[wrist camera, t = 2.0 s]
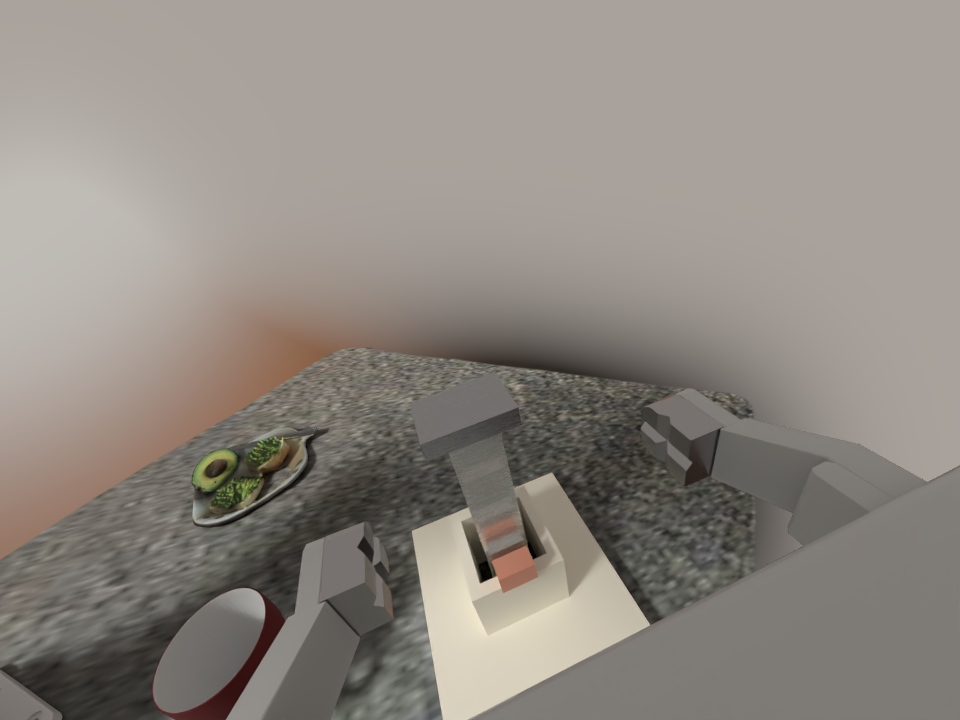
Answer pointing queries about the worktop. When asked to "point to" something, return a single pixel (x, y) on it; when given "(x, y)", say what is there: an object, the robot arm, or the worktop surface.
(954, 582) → the robot arm
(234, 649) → the mug
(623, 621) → the stand
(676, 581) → the worktop surface
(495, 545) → the column
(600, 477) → the worktop surface
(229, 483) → the salad plate
